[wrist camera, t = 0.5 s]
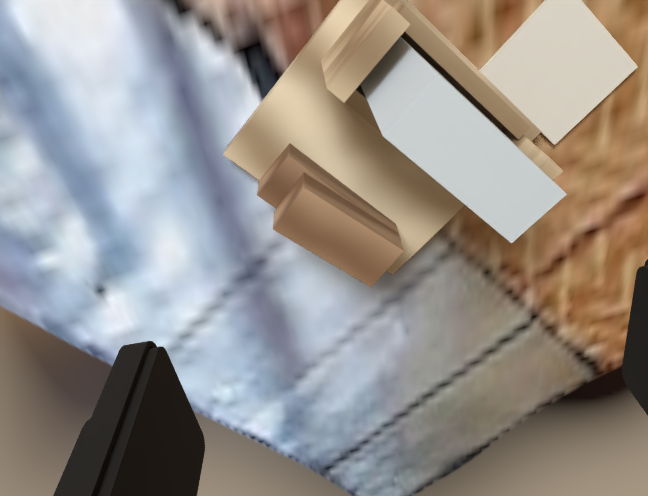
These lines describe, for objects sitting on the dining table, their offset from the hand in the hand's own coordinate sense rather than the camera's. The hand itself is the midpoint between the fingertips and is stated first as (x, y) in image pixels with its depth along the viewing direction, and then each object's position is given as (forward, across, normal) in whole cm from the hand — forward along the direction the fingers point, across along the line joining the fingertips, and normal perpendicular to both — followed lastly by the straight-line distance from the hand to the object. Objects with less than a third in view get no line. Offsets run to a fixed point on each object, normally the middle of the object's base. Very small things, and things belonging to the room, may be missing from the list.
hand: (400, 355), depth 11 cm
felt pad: (+28, -15, +4) cm, 32 cm away
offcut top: (+24, +1, +10) cm, 26 cm away
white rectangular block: (+27, -6, +3) cm, 28 cm away
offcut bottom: (+27, +2, +10) cm, 29 cm away
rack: (+28, -3, +6) cm, 29 cm away
